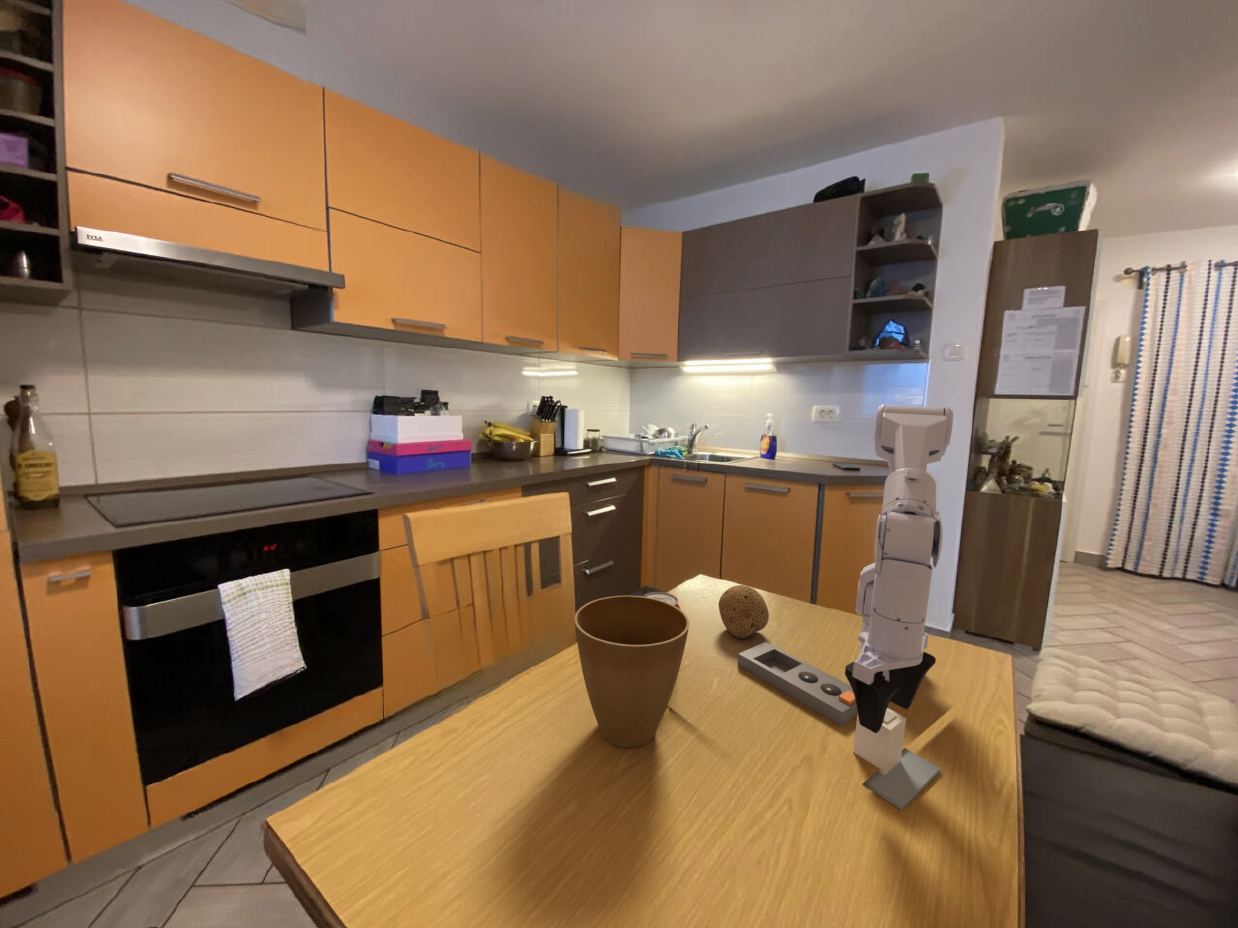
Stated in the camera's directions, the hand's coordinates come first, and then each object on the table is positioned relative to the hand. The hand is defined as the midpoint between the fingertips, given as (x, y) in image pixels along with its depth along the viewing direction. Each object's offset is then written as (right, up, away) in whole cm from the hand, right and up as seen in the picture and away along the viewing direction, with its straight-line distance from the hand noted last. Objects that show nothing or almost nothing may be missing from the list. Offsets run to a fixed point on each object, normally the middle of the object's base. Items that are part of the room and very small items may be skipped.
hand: (884, 715), depth 62 cm
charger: (0, -6, +1) cm, 6 cm away
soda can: (-27, -3, +21) cm, 34 cm away
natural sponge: (-10, -2, +32) cm, 34 cm away
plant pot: (-32, -5, +6) cm, 33 cm away
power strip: (-5, -4, +16) cm, 17 cm away
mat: (0, -7, +1) cm, 7 cm away
